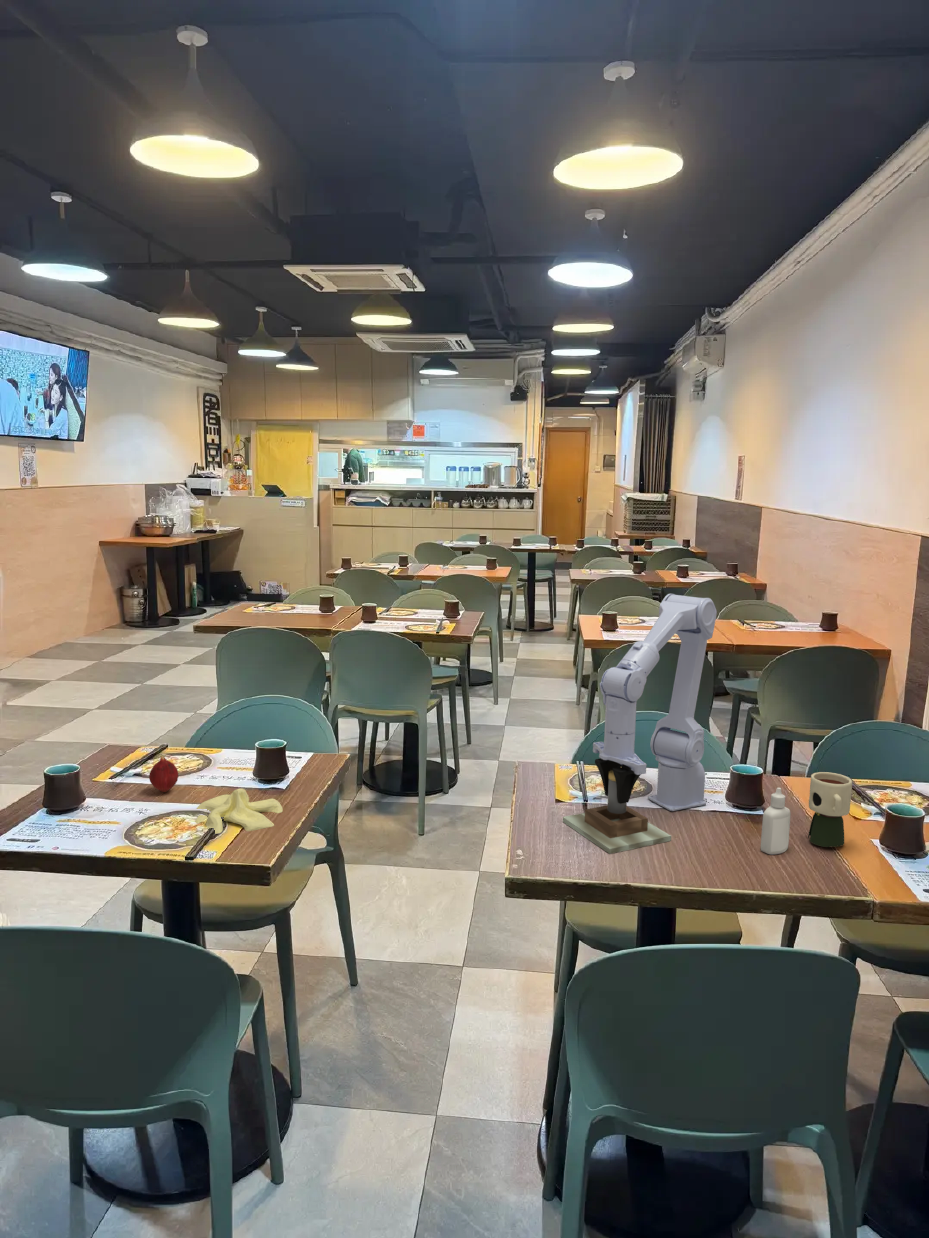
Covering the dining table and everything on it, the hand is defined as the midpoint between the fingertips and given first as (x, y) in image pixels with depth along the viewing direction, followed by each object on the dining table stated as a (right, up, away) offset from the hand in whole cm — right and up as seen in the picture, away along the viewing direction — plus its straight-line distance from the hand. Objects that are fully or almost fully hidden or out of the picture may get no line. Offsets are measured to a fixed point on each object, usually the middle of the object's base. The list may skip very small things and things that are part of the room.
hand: (616, 798), depth 161 cm
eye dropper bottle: (+28, -8, -6) cm, 30 cm away
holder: (0, -7, +1) cm, 7 cm away
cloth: (-75, -6, +6) cm, 76 cm away
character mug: (+39, -8, -3) cm, 40 cm away
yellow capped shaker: (0, -2, 0) cm, 2 cm away
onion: (-94, -3, +18) cm, 95 cm away
